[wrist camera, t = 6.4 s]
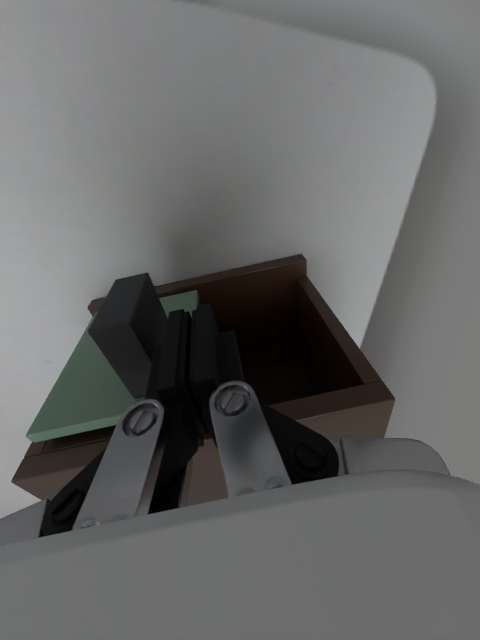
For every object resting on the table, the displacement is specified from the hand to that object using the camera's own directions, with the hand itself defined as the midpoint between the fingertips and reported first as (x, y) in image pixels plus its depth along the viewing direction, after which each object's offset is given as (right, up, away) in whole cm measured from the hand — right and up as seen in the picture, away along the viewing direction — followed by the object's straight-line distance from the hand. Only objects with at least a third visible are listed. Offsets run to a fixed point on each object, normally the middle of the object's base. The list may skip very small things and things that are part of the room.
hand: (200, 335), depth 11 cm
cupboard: (-1, -1, +12) cm, 12 cm away
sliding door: (-5, +3, +7) cm, 9 cm away
